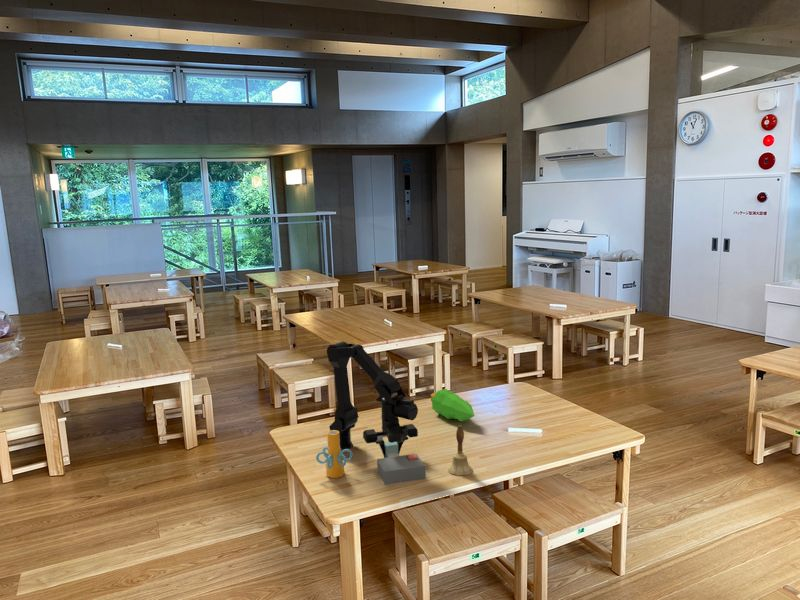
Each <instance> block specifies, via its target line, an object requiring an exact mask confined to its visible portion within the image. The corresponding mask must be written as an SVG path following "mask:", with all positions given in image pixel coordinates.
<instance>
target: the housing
mask: <svg viewBox="0 0 800 600" xmlns="http://www.w3.org/2000/svg"><path fill="white" fill-rule="evenodd" d="M411 454H412V453H411ZM411 454H405V455H404V454H403V455H399V456H396V457H389V458H384V457H382V458H377V459H376V467H377V469H376V470H377V474H378V476H379V478H380V479H381V481H382V484H383V485H384V486H387V485H395V484H401V483H407V482H414V481H420V480H421V481H422V480H426V479H427V477H426V476H427V475H426V474H427V473H426V469H427V468H426V464H425V463H424V462H423V461H422V459H421V457H420V456H419V455H418V453H414V454H415V455H416V456H417V460H411V461H409V460H408V459H407V455H411Z"/></svg>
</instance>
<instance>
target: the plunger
mask: <svg viewBox="0 0 800 600" xmlns="http://www.w3.org/2000/svg"><path fill="white" fill-rule="evenodd" d="M415 454H416V453H411V455H409V454H406V455H407V459H408V460H409V461H411V460H417V456H416V455H415Z"/></svg>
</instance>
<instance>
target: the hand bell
mask: <svg viewBox="0 0 800 600" xmlns="http://www.w3.org/2000/svg"><path fill="white" fill-rule="evenodd" d="M455 436H456V442H457V453H454V455H453V458H452V463H451V465H450V466H449V467H448V469H447V470H448V473H449V474H451V475H453V476H457V475H458V476H459V477H461V475H462V476H463V475H464V476H467V475H471V472H472V473H473V471H474V470H473V468H472V466H470V464H469V461H468V457H467V454H465V453H464V452H463V450H464V449H463V442H464V439H465V431H464V429H463V425H462V424H459V425H457V429H456V434H455Z"/></svg>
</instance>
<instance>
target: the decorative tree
mask: <svg viewBox="0 0 800 600" xmlns="http://www.w3.org/2000/svg"><path fill="white" fill-rule="evenodd" d="M430 402H431V405H432V406H431V408H432V410H433V411H434V412H435V413H437V414H439V415H441V416H442V417H445V418H446V419H447V420H448V419H449V420H453V419H454V420H456V419H457V420H458V421H459V422H463V421H468V420H469V419H470V420H471V419H472V418H474V417H475V413H474V409H473V406H472V405H471V403H469V401H467V400H464V399H463V398H462V397H460V396H459V395H458V394H457V393H454V392H453V391H452V390H450V391H449V390H448V389H447V388H444V389H439V390H437V391H436V392H432V393H431V394H430Z"/></svg>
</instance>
